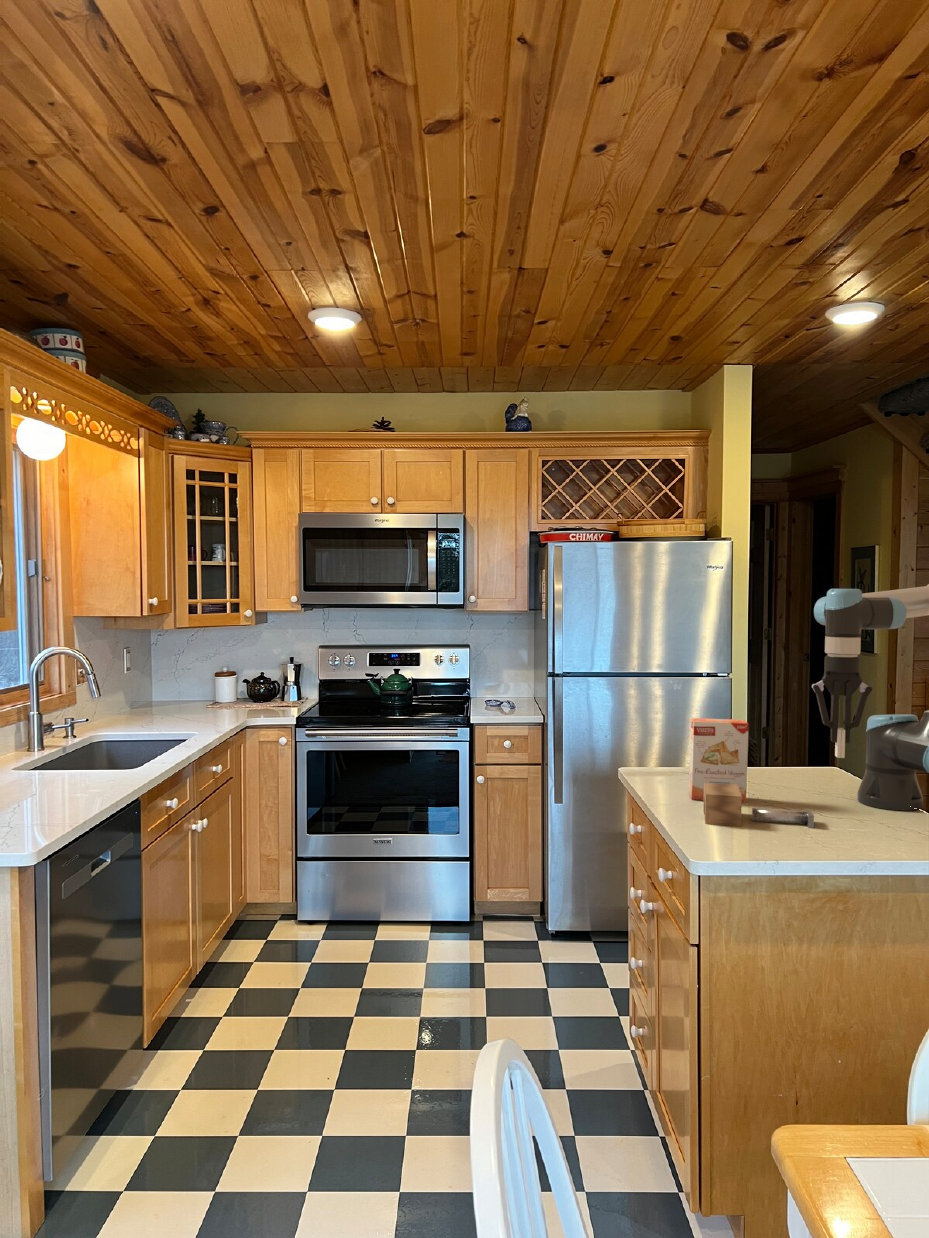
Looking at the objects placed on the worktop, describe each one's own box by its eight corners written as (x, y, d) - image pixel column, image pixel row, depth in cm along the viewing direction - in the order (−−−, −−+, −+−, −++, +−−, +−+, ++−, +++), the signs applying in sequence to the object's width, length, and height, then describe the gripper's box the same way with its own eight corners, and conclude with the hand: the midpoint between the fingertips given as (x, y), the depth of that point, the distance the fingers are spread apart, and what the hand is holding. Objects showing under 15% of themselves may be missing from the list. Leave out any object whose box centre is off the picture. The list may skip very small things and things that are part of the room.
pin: (809, 821, 199) (809, 808, 199) (813, 828, 194) (813, 815, 193) (751, 817, 203) (751, 805, 202) (753, 824, 197) (753, 811, 197)
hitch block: (737, 812, 206) (737, 784, 206) (741, 826, 195) (741, 796, 194) (703, 810, 208) (703, 782, 208) (705, 823, 196) (705, 794, 196)
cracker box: (691, 800, 218) (693, 720, 217) (688, 795, 224) (689, 717, 223) (747, 802, 216) (749, 722, 215) (742, 797, 222) (744, 718, 221)
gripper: (869, 654, 196) (866, 755, 197) (809, 653, 199) (807, 752, 200) (877, 657, 188) (874, 761, 189) (814, 655, 191) (812, 758, 192)
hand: (839, 756), depth 194 cm, fingers closed
